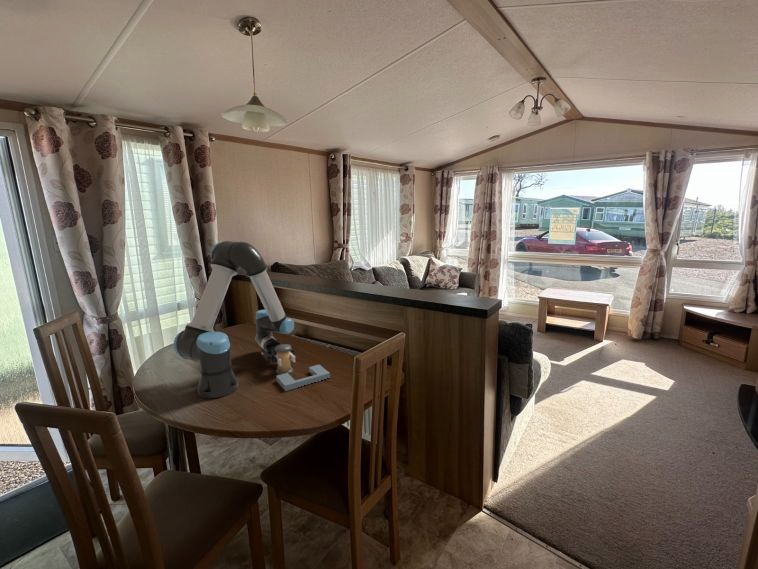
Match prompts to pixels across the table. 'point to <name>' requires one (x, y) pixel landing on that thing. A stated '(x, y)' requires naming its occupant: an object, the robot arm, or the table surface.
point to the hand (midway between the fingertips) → (287, 361)
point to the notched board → (290, 383)
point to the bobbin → (284, 359)
